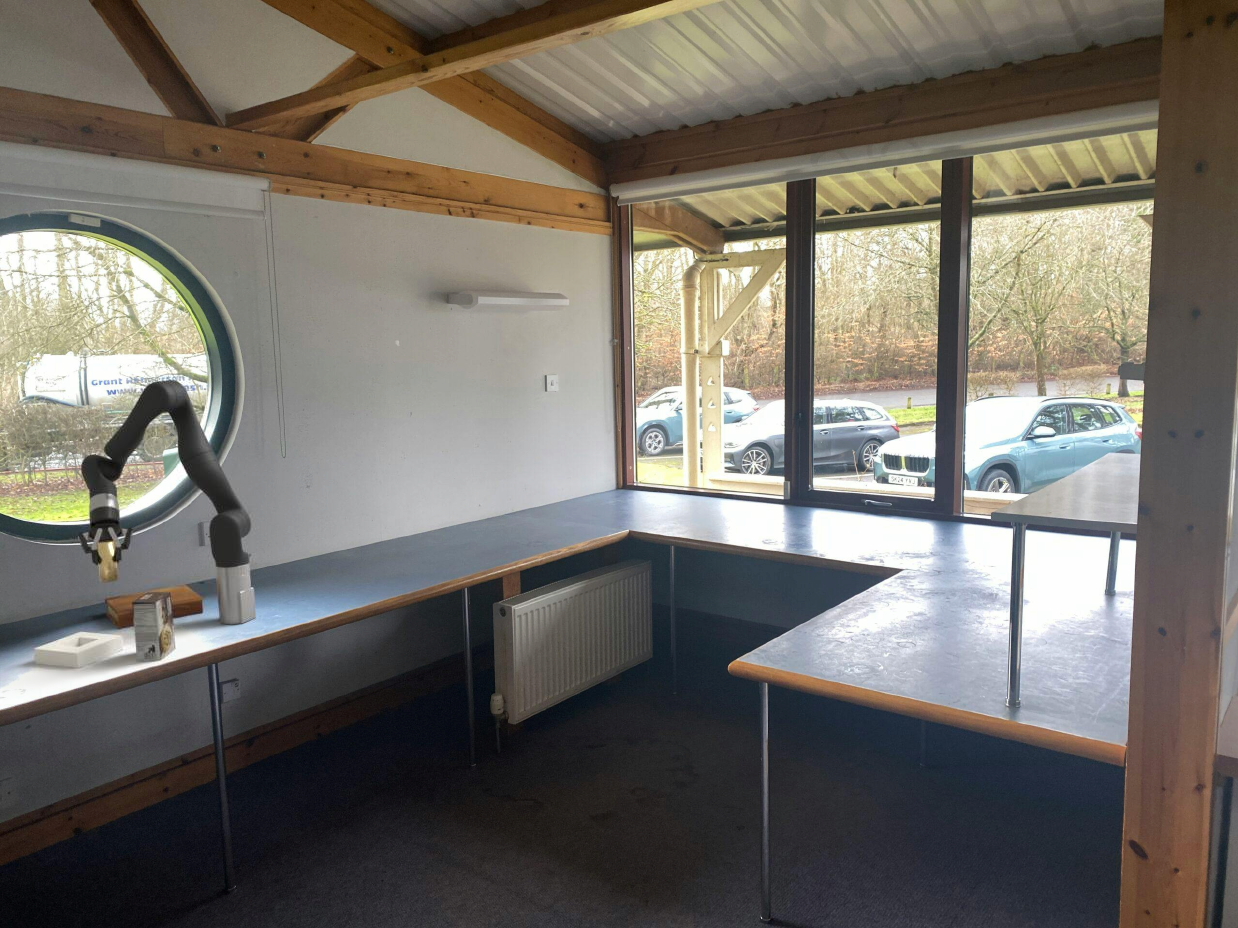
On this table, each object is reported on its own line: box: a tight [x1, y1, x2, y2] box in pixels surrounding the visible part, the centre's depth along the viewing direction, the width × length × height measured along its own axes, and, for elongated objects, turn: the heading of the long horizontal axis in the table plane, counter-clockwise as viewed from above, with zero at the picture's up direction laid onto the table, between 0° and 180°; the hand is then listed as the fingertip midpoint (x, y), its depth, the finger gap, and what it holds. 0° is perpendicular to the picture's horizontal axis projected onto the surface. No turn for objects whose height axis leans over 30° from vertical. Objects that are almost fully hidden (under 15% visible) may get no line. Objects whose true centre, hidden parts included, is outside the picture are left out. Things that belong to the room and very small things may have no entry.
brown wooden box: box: [104, 584, 204, 630], centre depth 266 cm, size 23×19×6 cm
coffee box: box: [132, 592, 176, 662], centre depth 229 cm, size 9×6×16 cm
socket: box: [33, 631, 124, 669], centre depth 229 cm, size 14×14×4 cm
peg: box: [96, 540, 119, 583], centre depth 243 cm, size 4×4×11 cm
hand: (107, 562), depth 242 cm, fingers closed on peg, 4 cm apart
